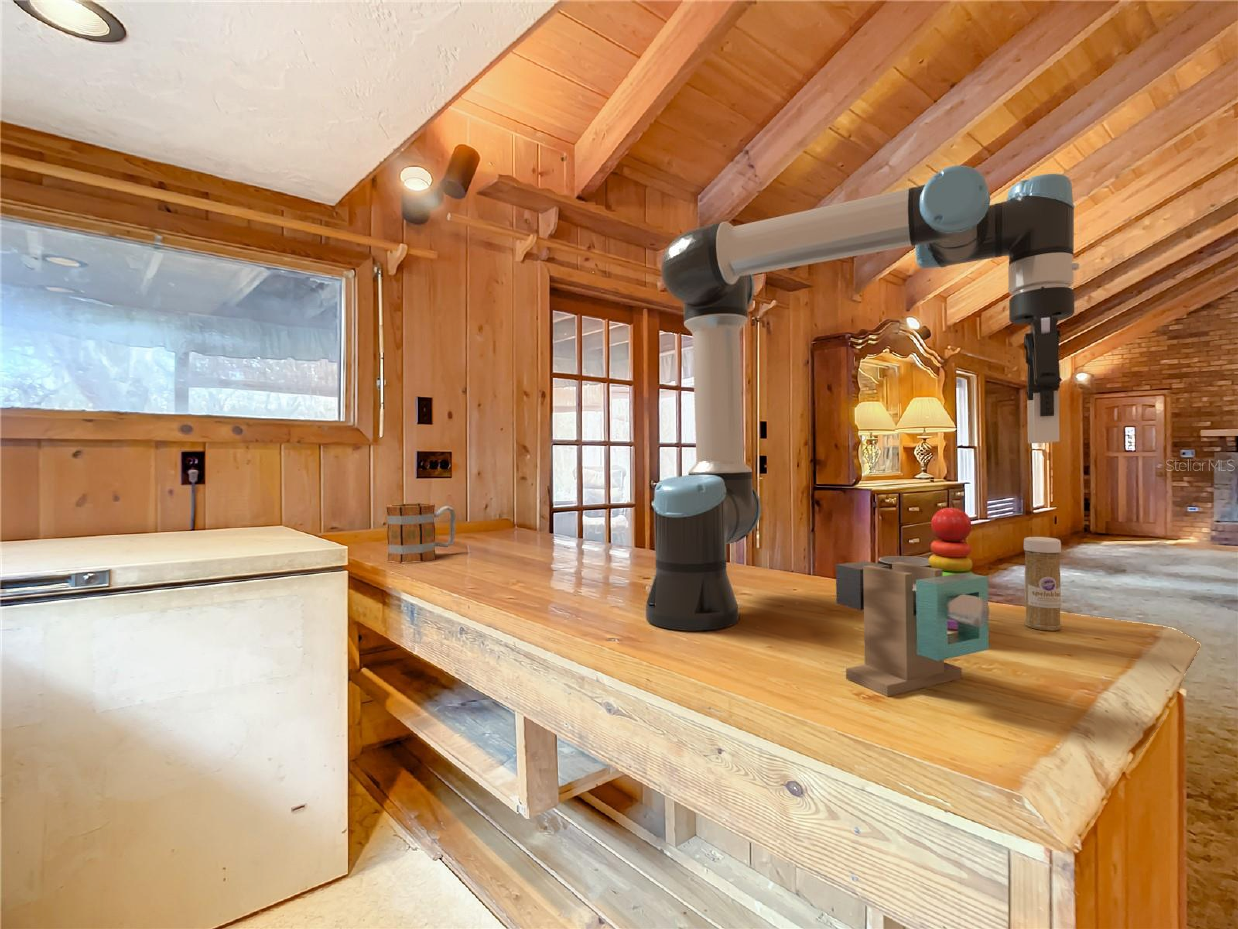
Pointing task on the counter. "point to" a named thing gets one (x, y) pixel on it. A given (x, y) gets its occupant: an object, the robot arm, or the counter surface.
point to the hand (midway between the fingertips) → (1042, 442)
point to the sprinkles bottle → (1042, 583)
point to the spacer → (934, 617)
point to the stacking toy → (951, 546)
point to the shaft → (957, 606)
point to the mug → (415, 531)
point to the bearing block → (895, 634)
